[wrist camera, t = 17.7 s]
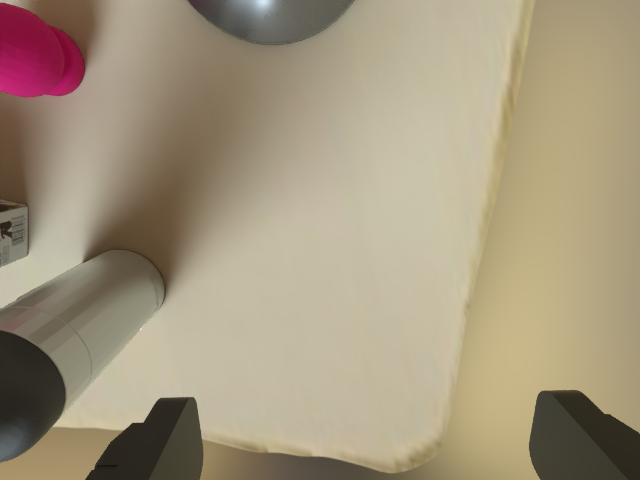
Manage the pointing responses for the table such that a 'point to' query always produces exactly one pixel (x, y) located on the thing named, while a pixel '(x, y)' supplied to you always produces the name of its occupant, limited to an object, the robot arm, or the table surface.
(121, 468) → the robot arm
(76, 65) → the pepper mill
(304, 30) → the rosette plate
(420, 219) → the table surface
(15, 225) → the coffee box
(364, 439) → the table surface
